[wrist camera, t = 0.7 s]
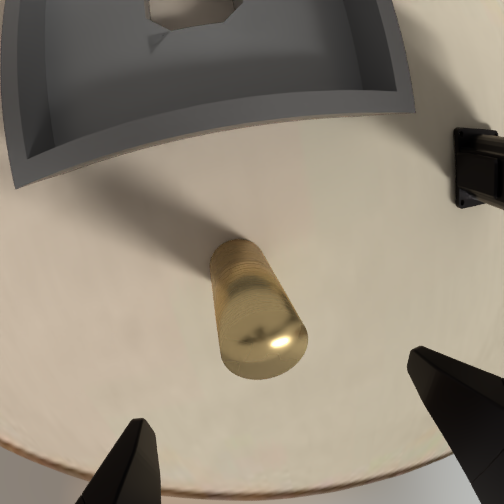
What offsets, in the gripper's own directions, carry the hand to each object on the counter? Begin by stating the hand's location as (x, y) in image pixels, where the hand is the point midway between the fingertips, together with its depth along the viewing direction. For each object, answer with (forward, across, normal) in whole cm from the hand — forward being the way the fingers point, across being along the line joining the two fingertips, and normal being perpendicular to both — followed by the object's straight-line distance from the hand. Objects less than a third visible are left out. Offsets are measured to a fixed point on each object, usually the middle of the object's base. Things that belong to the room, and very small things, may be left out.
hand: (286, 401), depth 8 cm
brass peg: (+11, 0, 0) cm, 11 cm away
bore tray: (+11, 0, -16) cm, 19 cm away
